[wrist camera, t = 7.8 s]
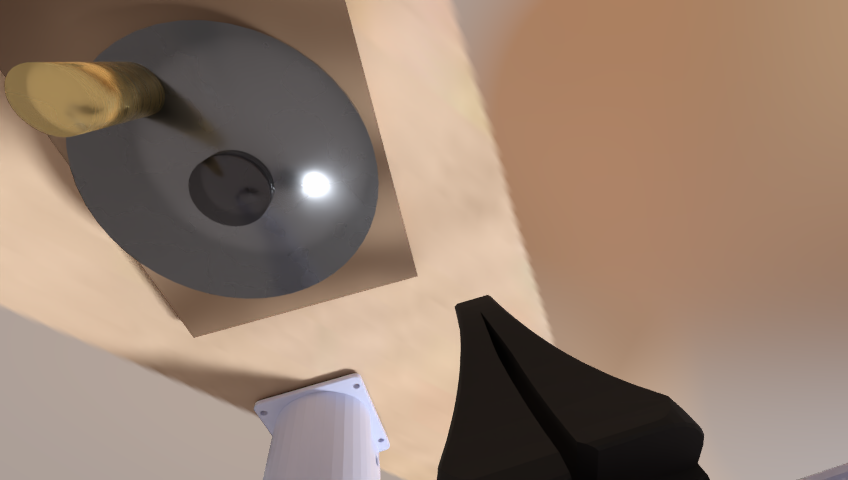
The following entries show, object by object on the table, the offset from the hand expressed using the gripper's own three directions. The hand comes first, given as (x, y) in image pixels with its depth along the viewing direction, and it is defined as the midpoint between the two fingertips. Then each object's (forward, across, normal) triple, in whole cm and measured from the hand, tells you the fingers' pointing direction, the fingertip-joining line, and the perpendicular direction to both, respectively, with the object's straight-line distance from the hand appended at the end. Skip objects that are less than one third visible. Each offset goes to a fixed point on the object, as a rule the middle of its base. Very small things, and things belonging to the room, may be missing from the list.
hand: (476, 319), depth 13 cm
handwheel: (+8, +9, -6) cm, 13 cm away
